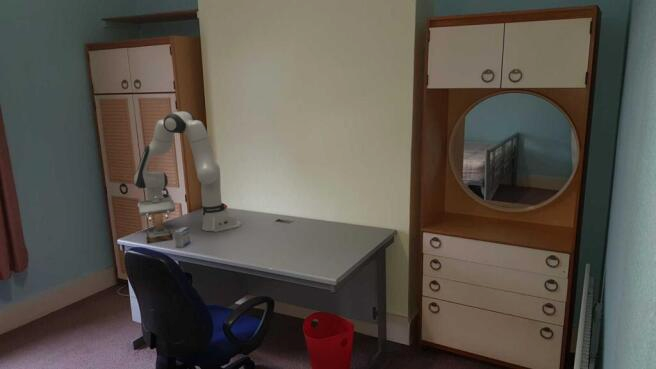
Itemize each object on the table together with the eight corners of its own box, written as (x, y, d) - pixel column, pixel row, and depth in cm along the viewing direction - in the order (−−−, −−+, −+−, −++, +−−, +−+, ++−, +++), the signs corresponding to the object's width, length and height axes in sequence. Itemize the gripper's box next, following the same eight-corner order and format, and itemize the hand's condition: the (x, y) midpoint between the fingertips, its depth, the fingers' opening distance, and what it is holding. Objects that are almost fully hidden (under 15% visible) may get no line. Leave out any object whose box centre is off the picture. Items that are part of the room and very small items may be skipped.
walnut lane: (170, 232, 270) (170, 227, 269) (172, 239, 257) (172, 234, 256) (146, 235, 265) (146, 230, 264) (147, 243, 252) (146, 238, 251)
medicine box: (183, 247, 243) (181, 231, 242) (175, 247, 244) (173, 231, 242) (190, 242, 251) (188, 227, 249) (183, 242, 252) (181, 226, 250)
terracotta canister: (164, 228, 275) (161, 212, 273) (164, 230, 271) (162, 214, 269) (156, 230, 274) (153, 213, 271) (156, 232, 270) (154, 215, 267)
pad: (165, 227, 278) (165, 227, 278) (167, 232, 269) (166, 231, 269) (153, 229, 276) (153, 229, 276) (154, 234, 267) (154, 233, 267)
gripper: (136, 199, 271) (139, 219, 264) (173, 194, 278) (176, 214, 272) (137, 204, 276) (140, 224, 269) (173, 200, 283) (176, 219, 277)
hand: (158, 219), depth 270 cm, fingers open, 8 cm apart
